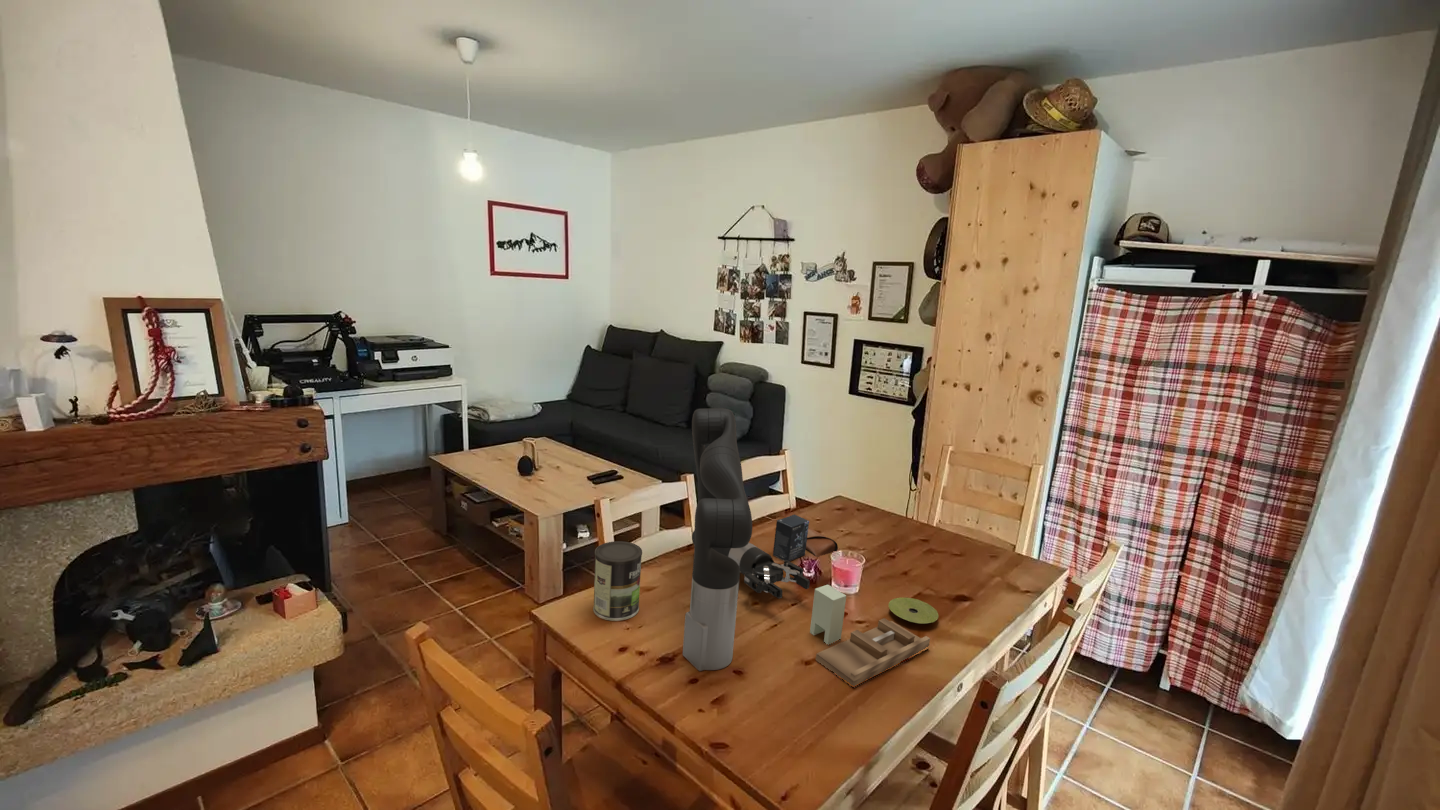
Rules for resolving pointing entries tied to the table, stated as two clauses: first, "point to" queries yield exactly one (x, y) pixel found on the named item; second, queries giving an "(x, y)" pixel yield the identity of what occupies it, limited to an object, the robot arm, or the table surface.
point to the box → (790, 537)
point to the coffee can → (617, 580)
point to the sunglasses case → (819, 543)
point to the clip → (828, 613)
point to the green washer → (913, 610)
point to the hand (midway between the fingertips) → (795, 589)
